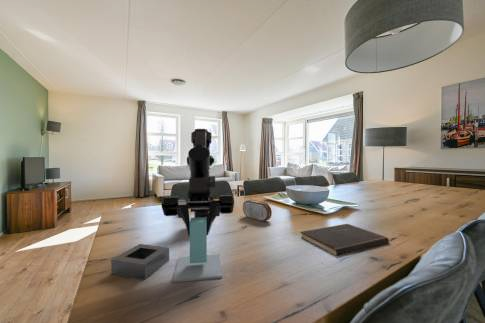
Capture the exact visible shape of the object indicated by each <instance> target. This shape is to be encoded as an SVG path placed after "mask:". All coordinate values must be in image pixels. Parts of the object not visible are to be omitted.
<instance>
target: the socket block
mask: <svg viewBox="0 0 485 323" xmlns="http://www.w3.org/2000/svg"><path fill="white" fill-rule="evenodd" d="M169 261H170V247H166V246H159V245H151V244H143V243H138V244H137V245H135V246H133V247H131V248H129V249H128V250H126V251H124V252H122V253H121V254H119V255H117V256H115V257H114V258H111V260H110V264H111V268H110V269H111V271H110V272H111V275H114V276H120V277H127V278H132V279H138V280H142V281H143V280H144V281H145V280H147V279H148V278H149V277H150V276H152V275H153V274H154V273H155V272H157V271H158V270H159V269H161V268H162V267H163V266H164V265H165V264H167V263H168V262H169Z"/></svg>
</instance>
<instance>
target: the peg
mask: <svg viewBox="0 0 485 323" xmlns="http://www.w3.org/2000/svg"><path fill="white" fill-rule="evenodd" d="M189 219H190V236H189V256H190V264H191V263H203V262H207V255H208V251H207V250H208V249H207V246H208V244H207V236H208V235H207V217H198V218H194V217H191V218H189Z"/></svg>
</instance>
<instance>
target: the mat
mask: <svg viewBox="0 0 485 323" xmlns="http://www.w3.org/2000/svg"><path fill="white" fill-rule="evenodd" d="M222 278H223V274H222V266H221V258H220V254H219V253H218V254H217V253H216V254H207V262H203V263H191V264H190V255H189V256H179V257H178V259H177V263H176V266H175V269H174V273H173V277H172V283H181V282H188V281H189V282H190V281H201V280H203V281H204V280H213V279H222Z"/></svg>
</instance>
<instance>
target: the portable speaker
mask: <svg viewBox="0 0 485 323" xmlns="http://www.w3.org/2000/svg"><path fill="white" fill-rule="evenodd" d="M242 211H243V214H244V215H245V217H247V219H252V220H254V221H255V220H256V221H260V222H262V221H263V222H266V221H269V220H270V219H271V218H272V214H273V213H272V207H271V206H270V204H268V203H267V202H265V201H261V200H257V199H252V198H251V199H248V200H245V201H244V202H243V204H242Z"/></svg>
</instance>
